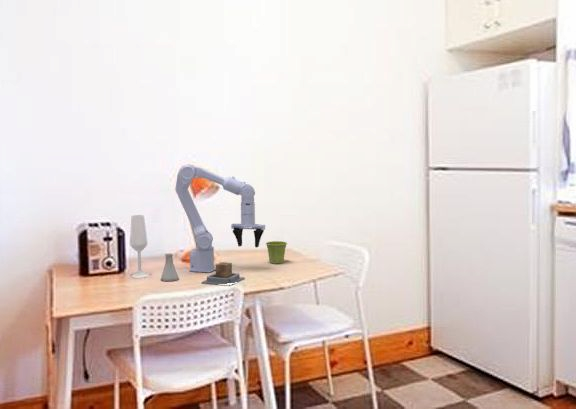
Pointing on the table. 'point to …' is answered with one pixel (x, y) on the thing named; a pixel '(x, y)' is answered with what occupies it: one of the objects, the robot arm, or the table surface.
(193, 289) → the table surface
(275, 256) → the plant pot
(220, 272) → the block
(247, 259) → the table surface
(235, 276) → the holder
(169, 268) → the flask
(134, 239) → the champagne flute
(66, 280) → the table surface
